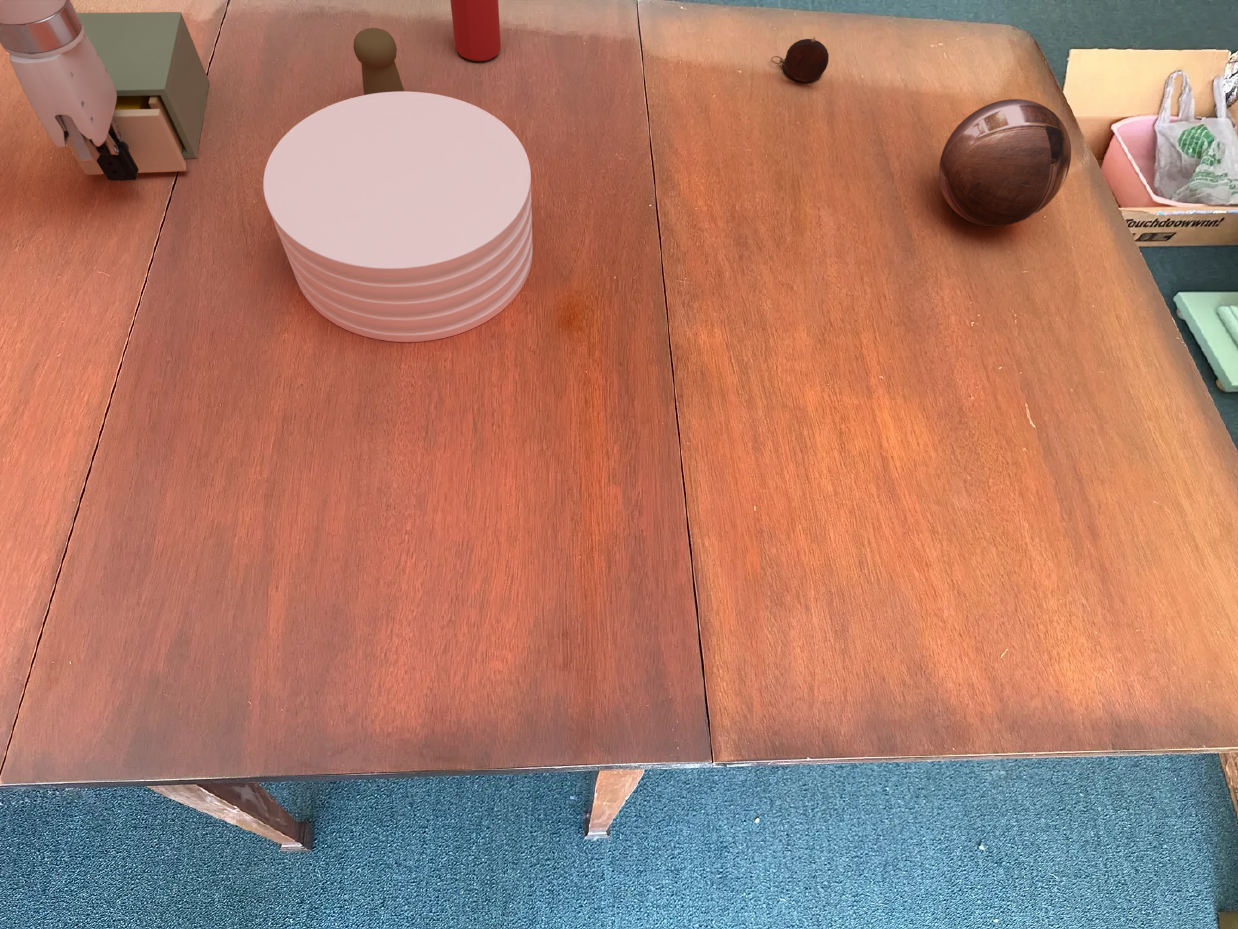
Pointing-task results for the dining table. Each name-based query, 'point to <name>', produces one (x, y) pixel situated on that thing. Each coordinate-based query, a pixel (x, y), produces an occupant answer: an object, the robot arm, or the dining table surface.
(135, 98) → the yellow block
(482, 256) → the plate stack
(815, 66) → the compass
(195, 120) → the cabinet
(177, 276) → the dining table surface
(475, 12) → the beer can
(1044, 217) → the dining table surface
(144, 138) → the drawer
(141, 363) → the dining table surface
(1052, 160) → the wooden sphere
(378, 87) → the brown knobbed cone
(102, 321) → the dining table surface
